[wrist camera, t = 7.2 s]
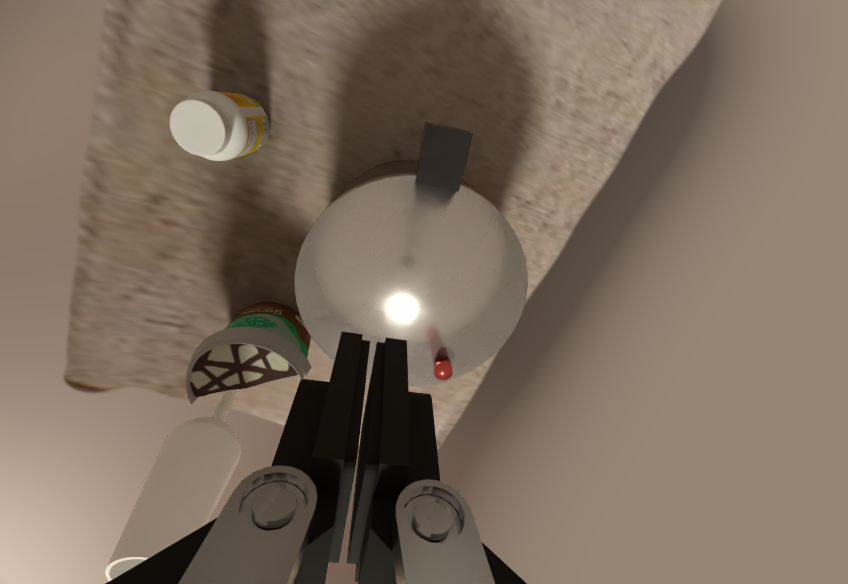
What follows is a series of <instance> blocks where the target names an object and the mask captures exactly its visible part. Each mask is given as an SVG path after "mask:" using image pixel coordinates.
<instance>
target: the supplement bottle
mask: <svg viewBox="0 0 848 584" xmlns="http://www.w3.org/2000/svg"><path fill="white" fill-rule="evenodd" d="M170 129H171V132H172V134H173V137H174V138H175V140H176V141H177V143H178V144H179V145H180V146H181V147H182V148H183V149H185V150H186V151H188V152H190V153H192V154H194V155H198V156H202V157H204V158H206V159H209V160H213V161H226V160H230V159H234V158H237V157H240V156H243V155H246V154H250V153H253V152H255V151H257V150H259V149H260V148H261V147H262V146H263V145H264V144H265V143H266V141H267V139H268V136H269V121H268V118H267V115H266V113H265V111H264V110H263V108H262V107H261V106H260V105H259V104H258V103H257V102H256V101H255V100H253V99H252V98H250V97H248V96H246V95H243V94H238V93H229V92H219V91H199V92H195V93H193V94H191V95H190V96H188V97H187V98H186V99H185V100H184V101H182V102H180V103H179V104H177V105H176V106H175V108H174V109H173V111H172V113H171V116H170Z"/></svg>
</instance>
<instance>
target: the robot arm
mask: <svg viewBox="0 0 848 584" xmlns="http://www.w3.org/2000/svg"><path fill="white" fill-rule="evenodd" d="M362 336H363V334H358V333H350V332H343V331H342V332H341V336H340V340H339V345H338V349H337V353H336V357H335V362H334V366H333V370H332V374H331V378H330V382H324V381H316V380H308V379H301V381H300V383H299V386H298V389H297V392H296V395H295V398H294V401H293V404H292V407H291V410H290V413H289V416H288V419H287V422H286V424H285V427H284V430H283V433H282V436H281V439H280V443H279V445H278V448H277V451H276V454H275V457H274V460H273V463H272V466H271V467H266V468H263V469H261V470H258V471H256V472H253V473H252V474H251V475H249V476H248V477H246V478H245V479H244V480H242V481H241V483H240V484H239V485H238V486H237V488H236V489H235V490H234V491H233V493H232V495H231V497H230V498H229V500H228V501H227V503H226V505H225V506H224V508H223V510H222V511H221V513H220V515H219V516H218V518H216V519H214V520H213V521H211V522H209V523H207V524H206V525H204V526H202V527H201V528H199V529H197V530H196V531H194V532H192V533H191V534H189V535H187V536H185V537H184V538H182V539H180V540H179V541H177V542H175V543H174V544H172V545H170V546H168V547H167V548H165V549H163V550H162V551H160V552H158V553H157V554H155V555H153V556H152V557H150V558H148V559H146V560H145V561H143V562H141V563H140V564H138V565H136V566H135V567H133V568H131V569H129V570H128V571H126V572H124V573H123V574H121V575H119V576H118V577H116V578H114V579H113V580H111V581H109V582H107V583H106V584H325V580H326V574H327V567H328V562H334V563H339V558H340V552H341V546H342V541H343V535H344V529H345V524H346V518H347V512H348V506H349V501H350V495H351V490H352V483H353V478H354V472H355V466H356V459H357V453H358V444H359V436H360V427H361V418H362V410H363V401H364V392H365V383H366V375H367V366H368V357H369V348H370V341H367V340H362ZM347 563H350V564H356V575H355V576H356V577H355V582H358V584H527V583H525V582H524V581H523V580H522V579H521V578H520V577H519V576H518V575H517V574H516V573H515V572H513V571H512V570H511V569H510V568H509V567H508V566H507V565H506V564H505V563H504V562H503V561H502V560H501V559H499V558H498V557H497V556H496V555H495V554H494V553H493V552H492V551H491V550H490V549H489V548H488V547H487V546H485V545H484V544H483V543H482V542H481V539H480V536H479V533H478V530H477V527H476V524H475V521H474V517H473V514H472V511H471V509H470V507H469V505H468V503H467V501H466V499H465V498H464V497H463V496H462V495H461V494H460V493H459V491H457V490H456V489H454V488H453V487H451V486H450V485H448V484H445V483H443V482H441V481H440V475H439V465H438V456H437V445H436V436H435V426H434V416H433V407H432V399H431V395H430V394H423V393H415V392H408V358H407V340H401V339H394V338H387V337H386V339H385V343H382V342H377V344H376V349H375V355H374V361H373V366H372V372H371V378H370V383H369V389H368V395H367V401H366V406H365V412H364V418H363V424H362V431H361V439H360V449H359V457H358V467H357V475H356V484H355V493H354V503H353V512H352V520H351V530H350V539H349V547H348V557H347Z"/></svg>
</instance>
